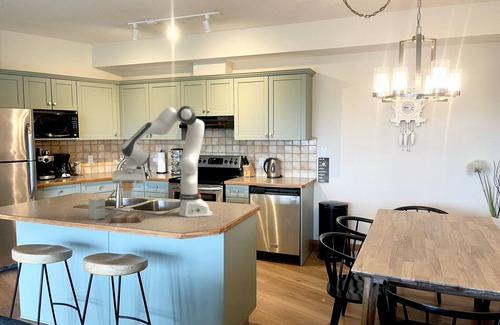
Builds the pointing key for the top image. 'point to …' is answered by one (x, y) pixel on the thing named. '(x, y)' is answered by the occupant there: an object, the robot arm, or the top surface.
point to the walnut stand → (128, 218)
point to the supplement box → (96, 208)
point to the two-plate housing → (127, 189)
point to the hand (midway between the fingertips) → (127, 187)
